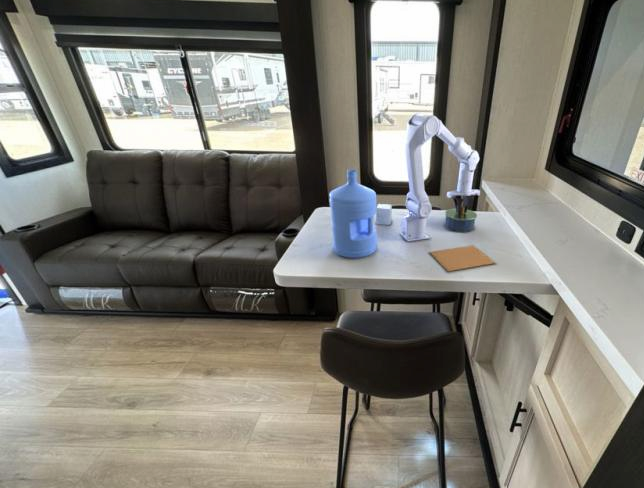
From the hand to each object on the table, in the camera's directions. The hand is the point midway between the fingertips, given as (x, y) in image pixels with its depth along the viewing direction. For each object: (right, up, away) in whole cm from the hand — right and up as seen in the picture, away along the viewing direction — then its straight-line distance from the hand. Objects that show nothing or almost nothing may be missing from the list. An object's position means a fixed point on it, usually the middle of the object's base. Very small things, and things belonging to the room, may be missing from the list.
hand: (461, 212), depth 130 cm
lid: (0, -1, 0) cm, 1 cm away
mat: (-4, -20, -22) cm, 30 cm away
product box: (-33, -4, +5) cm, 34 cm away
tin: (0, -6, +3) cm, 6 cm away
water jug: (-42, -17, -18) cm, 49 cm away
